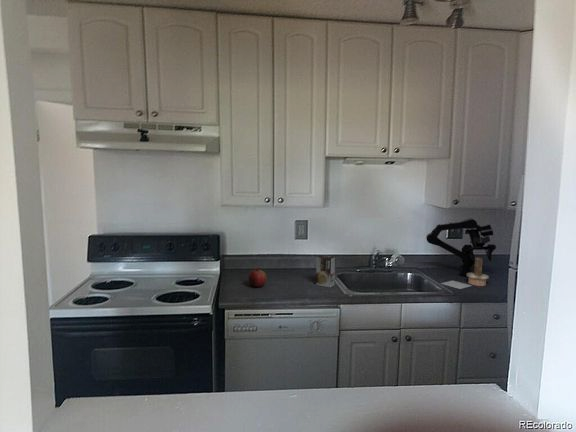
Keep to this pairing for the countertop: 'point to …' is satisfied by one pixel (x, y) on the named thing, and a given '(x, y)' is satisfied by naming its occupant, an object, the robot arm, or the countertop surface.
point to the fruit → (257, 277)
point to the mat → (456, 284)
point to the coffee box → (325, 271)
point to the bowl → (477, 281)
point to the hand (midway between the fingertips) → (482, 261)
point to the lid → (478, 270)
